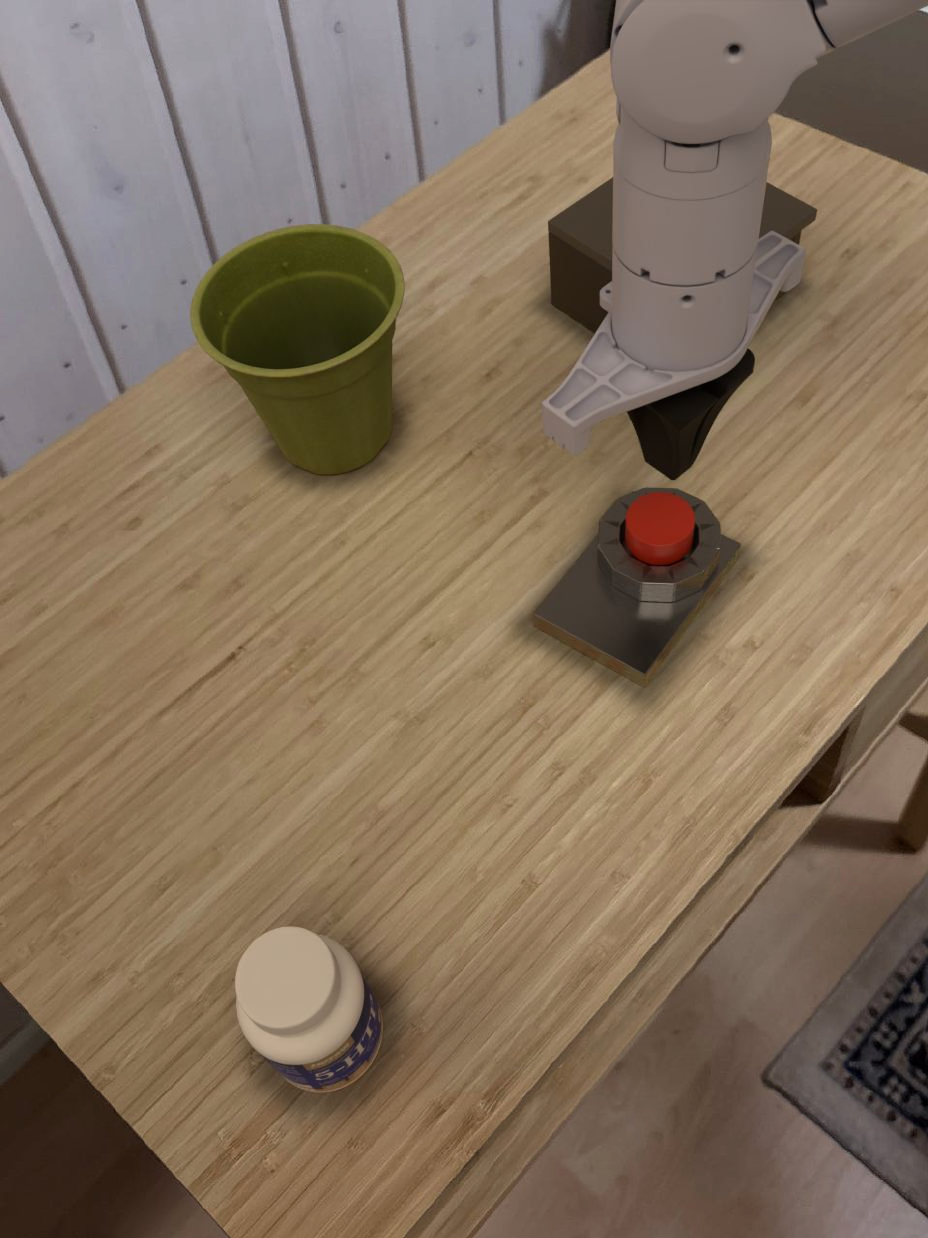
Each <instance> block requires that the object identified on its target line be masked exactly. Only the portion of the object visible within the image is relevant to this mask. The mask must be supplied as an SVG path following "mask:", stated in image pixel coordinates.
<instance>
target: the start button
mask: <svg viewBox="0 0 928 1238" xmlns="http://www.w3.org/2000/svg"><path fill="white" fill-rule="evenodd" d="M694 526H695V515H694V512H693V510H692V508H691V506H690V505H689V504H688V503H687V502H686V501H685V500H684V499H682V498H680V497H679V496H676V495H674V494H671V493H666V492H655V493H649V494H646V495H643V496H641V497H639V498H638V499H636V500H635V501H634V502H633V503H632V504H631V505H630V507H629V509H628V511H627V514H626V527H625V541H626V545H627V548H628V549H629V551H630V552H631V553H632V554H633V555H634V556H635V557H636V558H637V559H639V560H641V561H643V562H645V563H648V564H652V565H667V564H671V563H674V562H676V561H678V560H680V559H682V558H683V557H684V556H685V555H686V554H687V553H688V552H689V550H690V548H691V546H692V542H693V534H694Z"/></svg>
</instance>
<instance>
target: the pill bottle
mask: <svg viewBox="0 0 928 1238" xmlns="http://www.w3.org/2000/svg"><path fill="white" fill-rule="evenodd" d="M234 988H235V989H234V990H235V995H236V998H235V1012H236V1018H237V1022H238V1024H239V1027H240V1030H241V1032H242V1034H243V1035H244V1037H245V1039H246V1040H247V1042H248V1043H249V1044H250V1046H251V1047H252V1049H254V1051H256V1052H257V1053H258V1054H259V1055H260V1056H261V1057H262V1058H263V1059H264V1060H265V1061H266V1062H267V1063H268V1064H269V1065H270V1066H271V1067H272V1068H273V1069H274V1070H275V1071H276V1072H277V1073H278V1074H279V1075H280V1076H281V1077H282V1078H283V1079H284V1080H286V1081H287V1083H290V1084H291V1085H292V1086H294V1087H296V1088H298V1089H300V1090H303V1091H306V1092H311V1093H331V1092H335V1091H340V1090H341V1089H344V1088H346V1087H348V1086H350V1085H351V1084H353V1083H354V1082H356V1081H358V1079H360V1078H361V1077H362V1076H363V1075H364V1074H365V1073H366V1072H367V1071H368V1070H369V1068H370V1067H371V1066H372V1064H373V1063H374V1061H375V1059H376V1057H377V1055H378V1053H379V1051H380V1047H381V1045H382V1041H383V1033H384V1022H383V1015H382V1010H381V1006H380V1004H379V1002H378V1000H377V998H376V996H375V994H374V992H373V991H372V989H371V987H370V985H369V983H368V981H367V979H366V978H365V976H364V974H363V972H362V970H361V969H360V967H359V965H358V963H357V961H356V960H355V959H354V957H353V956H352V954H351V953H350V952H349V951H348V950H347V949H346V947H344V946H343V945H342V944H341V943H339V942H338V941H337V940H335V939H333V938H331V937H329V936H325V935H323V934H320V933H315V932H314V931H311V930H310V929H307V928H304V927H300V926H291V925H288V926H281V927H276V928H274V929H271V930H268V931H266V932H264V933H262V934H261V935H259V936H258V937H257V938H256V939H255V940H253V941H252V942H251V943H250V944H249V945H248V947H246V949H245V950H244V952H243V953H242V955H241V957H240V959H239V962H238V964H237V967H236V971H235V977H234Z"/></svg>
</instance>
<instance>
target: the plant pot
mask: <svg viewBox="0 0 928 1238" xmlns="http://www.w3.org/2000/svg"><path fill="white" fill-rule="evenodd" d="M405 287H406V282H405V277H404V272H403V269H402V266H401V264H400V262H399V260H398V258H397V256H396V255H395V254H394V253H393V252H392V251H391V250H390V248H388V247H387V246H386V245H385V244H384V243H383V242H381V241H380V240H378V239H377V238H375V237H373V236H371V235H369V234H367V233H364V232H362V231H360V230H357V229H354V228H350V227H347V226H342V225H336V224H327V223H325V224H324V223H310V224H308V223H307V224H299V225H291V226H287V227H280V228H277V229H274V230H270V231H267V232H264V233H261V234H259V235H256V236H254V237H251V238H249V239H248V240H245V241H243V242H241V243H239V244H238V245H237V246H234V247H233V248H232V249H230V250H229V251H228V252H225V254H223V255H222V256H221V257H220V258H219V259H218V260H217V261H216V262H215V263H214V264H212V266H211V267H210V268H209V269H208V270H207V271H206V272H205V274H203V276H202V278H201V279H200V281H199V283H198V284H197V286H196V288H195V290H194V292H193V296H192V298H191V303H190V309H189V318H190V326H191V330H192V332H193V335H194V337H195V339H196V341H197V342H198V344H199V346H200V347H201V348H202V350H203V351H204V352H205V353H206V354H207V355H208V356H209V357H210V358H212V360H214V361H215V362H217V363H218V364H219V365H221V366H222V367H224V369H225V371H226V372H227V373H228V374H229V376H230V377H231V378H232V379H233V380H235V382H237V383H238V386H239V387H240V388H241V390H242V391H243V393H244V394H245V396H246V398H247V399H248V401H249V402H250V404H251V405H252V407H253V408H254V411H256V413H257V415H258V416H259V418H260V420H261V421H262V423H263V425H264V426H265V427H266V428H267V431H268V432H269V434H270V436H271V437H272V439H273V441H274V442H275V443H276V446H277V447H278V448H279V450H280V451H281V453H282V454H283V456H284V457H285V459H287V460H288V462H290V463H291V464H292V465H295V466H297V467H299V468H301V469H304V470H306V471H308V472H310V473H313V474H317V475H337V474H344V473H347V472H351V471H354V470H356V469H359V468H361V467H363V466H365V465H367V464H368V463H369V462H371V461H372V460H374V459H375V457H376V456H377V454H378V453H379V452H380V451H381V449H382V448H383V447H384V446H385V445H386V443H387V442H388V441H389V439H390V436H391V434H392V428H393V340H394V337H395V332H396V326H397V317H398V316H399V314H400V311H401V309H402V306H403V302H404V298H405V290H406V289H405Z"/></svg>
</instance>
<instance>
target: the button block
mask: <svg viewBox="0 0 928 1238" xmlns="http://www.w3.org/2000/svg"><path fill="white" fill-rule="evenodd" d="M655 492H666V493H671V494H674V495H676V496H679V497H680V498H682V499H684V500H685V501H686V502H687V503H688V504H689V505H690V506H691V508H692V510H693V512H694V515H695V526H694V534H693V542H692V546H691V548H690V550H689V552H688V553H687V554H686V555H685V556H684V557H683V558H682V559H680V560H678V561H676V562H674V563H671V564H667V565H652V564H648V563H645V562H643V561H641V560H639V559H637V558H636V557H635V556H634V555H633V554H632V553H631V552H630V551H629V549H628V548H627V545H626V541H625V527H626V514H627V511H628V509H629V507H630V505H631V504H632V503H633V502H634V501H635V500H636V499H638V498H639V497H641V496H643V495H646V494H649V493H655ZM597 530H598V531H597V534H596V535H595V537H594V538H593V539H592V541H591V542H590V543H589V544H588V545H587V547H585V549H584V550H583V551H582V553H581V554H580V555H579V556H578V558H577V559H576V560H575V562H573V564H572V565H571V567H569V569H568V570H567V572H565V573H564V575H563V576H562V578H561V579H560V580H559V581H558V583H557V584H556V585H555V586H554V587H553V589H552V590H551V591H550V592H549V593H548V594H547V596H546V597H545V599H544V600H543V601H542V602H541V604H539V606H538V607H537V608H536V610H535V611H534V613H533V614H532V615H533V626H534V627H535V628H536V629H538V630H540V631H541V632H544V633H546V634H547V635H549V636H551V637H553V638H554V639H556V640H558V641H560V642H562V643H563V644H565V645H567V646H568V647H571V648H572V649H574V650H576V651H578V652H580V653H581V654H583V655H585V656H587V657H589V658H590V659H592V660H594V661H596V662H598V664H599V663H600V664H601V665H603V666H604V667H607V668H608V669H610V670H612V671H614V672H616V673H617V674H619V675H621V676H623V677H624V678H627V679H628V680H630V681H632V682H633V683H636V684H637V685H639V686H641V687H643V688H645V687H646V686H647V684H648V683H650V681H651V680H652V678H653V676H654V675H655V674H656V672H658V669H660V667H661V665H662V664H663V662H664V661H665V660H666V659H667V657H668V656H669V654H670V653H671V652H672V650H673V649H674V647H675V646H676V645H677V643H678V642H679V640H680V639H681V638H682V637H683V635H684V634H685V632H686V631H687V630H688V628H689V627H690V625H691V624H692V623H693V621H694V620H695V619H696V617H697V616H698V614H699V613H700V612H701V610H702V609H703V608H704V606H705V605H706V603H707V602H708V601H709V599H710V598H711V596H712V595H713V594H714V593H715V591H716V590H717V588H718V587H719V585H720V584H721V583H722V581H723V580H724V578H725V577H726V576H727V575H728V573H729V572H730V570H731V569H732V567H734V565H735V564H736V562H737V561H738V559H739V558H740V554H741V548H742V543H741V542H739V541H736V540H734V539H733V538H730V537H729V536H726V535H724V534H722V526H721V522H720V520H719V519H718V518H717V517H716V515H715V514H714V513H713V511H712V510H711V508H710V507H709V505H708V504H707V503H706V501H704V500H703V499H700V498H699V497H696V496H694V495H692V494H690V493H688V492H685V491H683V490H682V489H679V488H677V487H676V488H675V487H647V486H646V487H642V488H640V489H637V490H635V491H631V492H630V493H627V494H625V495H623V496H621V497H619V498H617V499H615V500H614V501H613V502H612V504H611V505H610V506H609V507H608V509H607V510H605V512H604V514H602V515H601V517H600V519H599V520H598V529H597Z"/></svg>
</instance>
